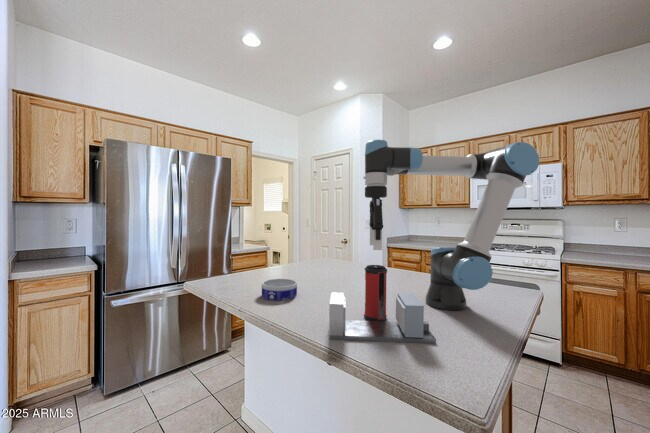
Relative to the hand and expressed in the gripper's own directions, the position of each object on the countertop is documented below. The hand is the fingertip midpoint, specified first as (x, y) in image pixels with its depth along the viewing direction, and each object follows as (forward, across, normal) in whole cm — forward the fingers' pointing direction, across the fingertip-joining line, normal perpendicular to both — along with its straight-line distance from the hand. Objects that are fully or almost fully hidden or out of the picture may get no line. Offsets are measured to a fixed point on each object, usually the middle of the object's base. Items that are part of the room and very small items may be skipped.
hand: (375, 247), depth 98 cm
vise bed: (+24, +12, 0) cm, 27 cm away
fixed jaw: (+23, +12, -13) cm, 29 cm away
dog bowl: (+25, -23, -39) cm, 51 cm away
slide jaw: (+23, +12, +10) cm, 28 cm away
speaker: (+25, 0, 0) cm, 25 cm away
